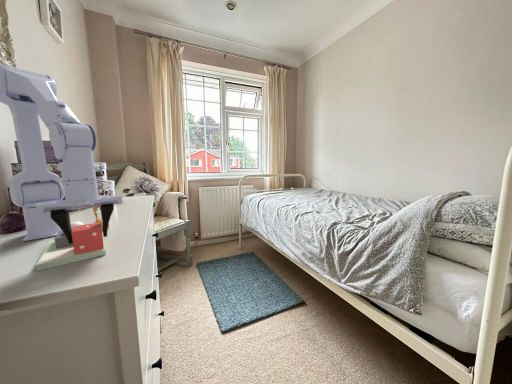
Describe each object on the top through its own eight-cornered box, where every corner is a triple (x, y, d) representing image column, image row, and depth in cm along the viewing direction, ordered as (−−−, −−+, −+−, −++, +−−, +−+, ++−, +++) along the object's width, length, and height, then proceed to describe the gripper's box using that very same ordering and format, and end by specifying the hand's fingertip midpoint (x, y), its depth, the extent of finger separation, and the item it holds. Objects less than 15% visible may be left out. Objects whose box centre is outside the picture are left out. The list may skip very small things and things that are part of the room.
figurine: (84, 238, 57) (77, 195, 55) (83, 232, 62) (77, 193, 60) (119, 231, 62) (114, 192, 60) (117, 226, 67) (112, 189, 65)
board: (50, 245, 53) (50, 240, 52) (104, 235, 59) (103, 230, 59) (36, 270, 40) (35, 264, 40) (105, 254, 47) (105, 249, 47)
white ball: (66, 238, 53) (63, 221, 52) (88, 234, 55) (85, 218, 55) (64, 243, 49) (61, 225, 49) (87, 238, 52) (85, 222, 51)
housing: (60, 239, 53) (59, 230, 53) (94, 233, 57) (93, 225, 57) (56, 248, 48) (54, 238, 47) (94, 241, 52) (93, 231, 51)
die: (76, 246, 48) (73, 225, 48) (103, 241, 51) (100, 221, 50) (74, 254, 44) (71, 231, 43) (103, 248, 47) (100, 226, 46)
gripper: (27, 184, 38) (40, 253, 40) (120, 178, 46) (127, 236, 49) (36, 181, 43) (47, 242, 46) (118, 176, 52) (124, 228, 54)
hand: (89, 238), depth 47 cm, fingers open, 5 cm apart
